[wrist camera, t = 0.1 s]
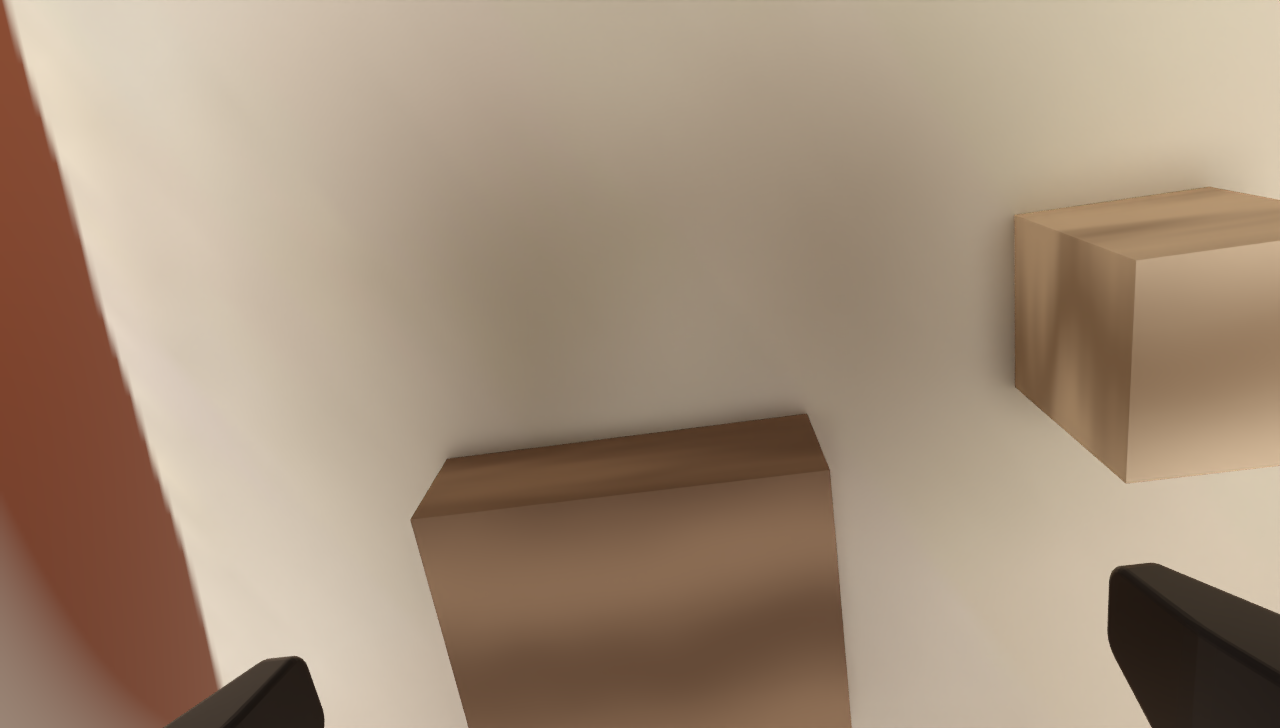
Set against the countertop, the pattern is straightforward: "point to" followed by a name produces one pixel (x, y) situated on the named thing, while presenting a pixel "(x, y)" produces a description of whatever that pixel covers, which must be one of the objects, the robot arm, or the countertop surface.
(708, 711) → the walnut block
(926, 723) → the countertop surface
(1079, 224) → the maple block
